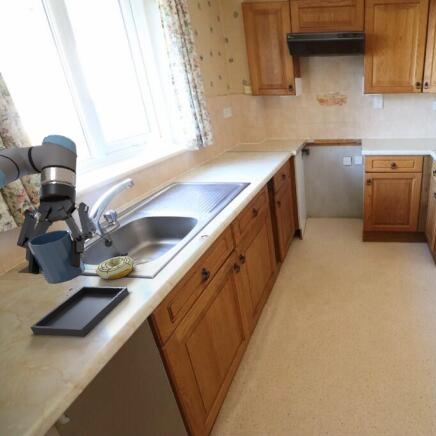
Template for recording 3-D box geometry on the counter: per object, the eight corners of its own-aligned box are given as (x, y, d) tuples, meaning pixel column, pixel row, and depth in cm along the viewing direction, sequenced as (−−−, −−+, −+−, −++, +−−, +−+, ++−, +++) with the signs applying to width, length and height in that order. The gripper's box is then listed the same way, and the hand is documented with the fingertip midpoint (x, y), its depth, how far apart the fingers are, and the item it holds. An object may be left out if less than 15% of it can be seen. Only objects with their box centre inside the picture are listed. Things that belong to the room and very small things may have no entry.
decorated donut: (104, 286, 100) (99, 276, 99) (95, 273, 107) (91, 263, 106) (139, 271, 107) (136, 261, 105) (129, 260, 114) (125, 250, 112)
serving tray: (85, 292, 98) (83, 285, 97) (129, 293, 96) (126, 287, 95) (33, 334, 82) (30, 327, 81) (84, 336, 81) (81, 329, 80)
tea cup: (46, 273, 85) (28, 237, 80) (84, 262, 90) (68, 227, 85) (46, 288, 79) (26, 249, 74) (86, 275, 84) (70, 237, 79)
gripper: (108, 189, 93) (109, 264, 86) (22, 199, 88) (15, 280, 81) (95, 176, 86) (95, 257, 79) (1, 187, 81) (-8, 275, 74)
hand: (54, 269), depth 80 cm, fingers closed on tea cup, 8 cm apart
